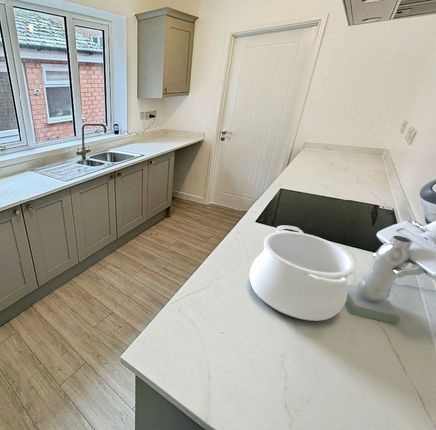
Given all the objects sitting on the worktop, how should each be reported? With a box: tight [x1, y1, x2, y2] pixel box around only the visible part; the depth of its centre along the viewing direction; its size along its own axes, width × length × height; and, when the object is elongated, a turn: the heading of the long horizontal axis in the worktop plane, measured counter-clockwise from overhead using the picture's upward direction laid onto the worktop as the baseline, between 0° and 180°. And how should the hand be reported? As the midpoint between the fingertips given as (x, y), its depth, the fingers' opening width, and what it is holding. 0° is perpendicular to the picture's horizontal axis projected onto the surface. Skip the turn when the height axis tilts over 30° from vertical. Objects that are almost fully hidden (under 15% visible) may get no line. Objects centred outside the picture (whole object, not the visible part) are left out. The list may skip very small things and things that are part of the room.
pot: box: [249, 225, 357, 322], centre depth 78 cm, size 28×24×17 cm
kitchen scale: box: [344, 284, 401, 325], centre depth 77 cm, size 10×10×3 cm
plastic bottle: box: [356, 236, 413, 302], centre depth 72 cm, size 6×7×20 cm
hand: (384, 265), depth 71 cm, fingers closed on plastic bottle, 6 cm apart
